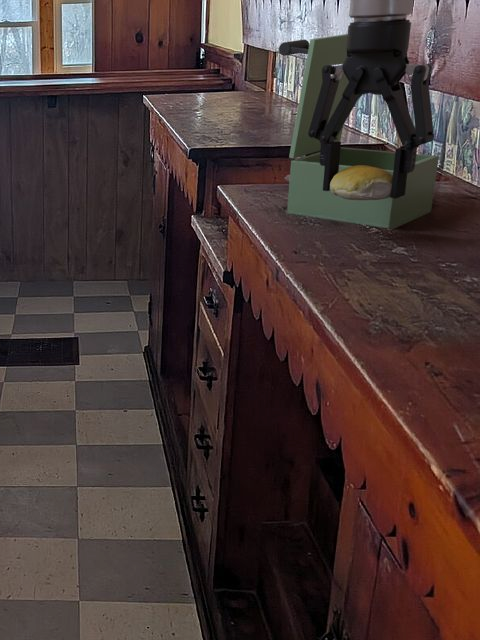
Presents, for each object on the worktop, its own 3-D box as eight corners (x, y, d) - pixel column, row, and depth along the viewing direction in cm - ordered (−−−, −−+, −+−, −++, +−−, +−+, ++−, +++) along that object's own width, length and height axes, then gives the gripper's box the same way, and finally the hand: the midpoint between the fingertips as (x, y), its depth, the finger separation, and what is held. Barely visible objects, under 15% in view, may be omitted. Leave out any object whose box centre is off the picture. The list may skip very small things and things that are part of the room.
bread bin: (431, 212, 138) (439, 155, 134) (388, 231, 129) (396, 171, 125) (332, 198, 149) (337, 146, 146) (286, 216, 140) (290, 160, 137)
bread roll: (375, 186, 124) (378, 158, 123) (404, 199, 116) (408, 169, 115) (318, 190, 124) (321, 162, 123) (344, 203, 116) (346, 173, 115)
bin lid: (362, 32, 137) (315, 27, 143) (315, 39, 128) (266, 33, 134) (339, 144, 146) (295, 135, 151) (293, 158, 137) (248, 148, 142)
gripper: (480, 14, 106) (455, 196, 115) (316, 20, 121) (304, 180, 130) (455, 17, 102) (431, 206, 110) (288, 23, 117) (278, 189, 125)
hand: (362, 192), depth 120 cm, fingers closed on bread roll, 9 cm apart
